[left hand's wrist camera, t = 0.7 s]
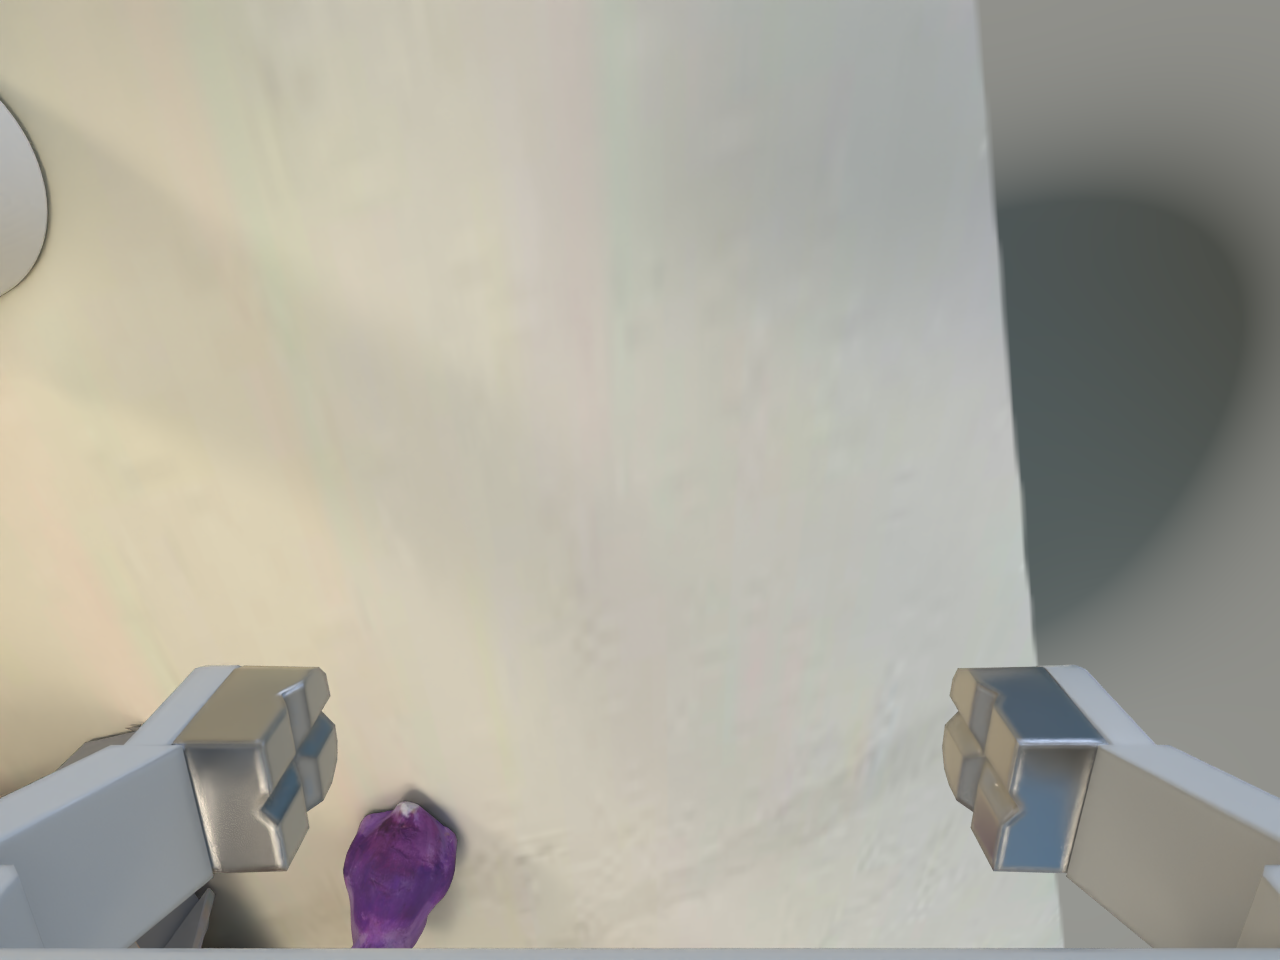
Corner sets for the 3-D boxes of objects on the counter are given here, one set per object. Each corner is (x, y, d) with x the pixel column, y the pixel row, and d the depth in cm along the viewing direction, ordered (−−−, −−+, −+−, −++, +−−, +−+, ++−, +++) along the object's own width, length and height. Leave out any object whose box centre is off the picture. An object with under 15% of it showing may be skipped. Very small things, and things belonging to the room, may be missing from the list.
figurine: (413, 912, 67) (356, 1107, 53) (325, 838, 64) (241, 1024, 50) (498, 859, 65) (462, 1046, 51) (411, 780, 62) (348, 957, 48)
